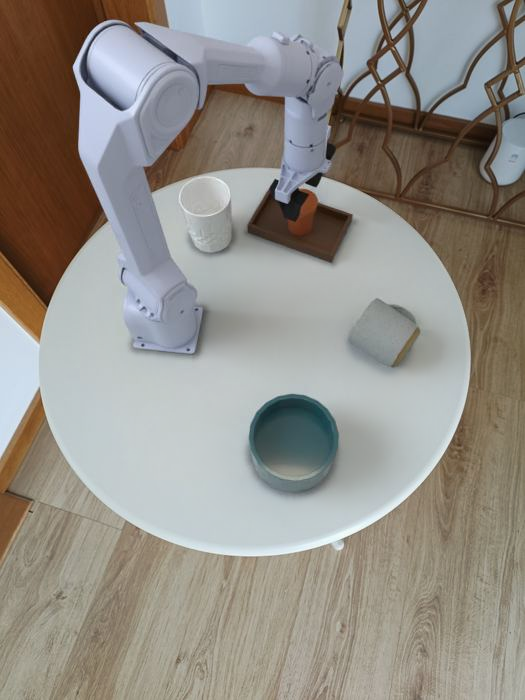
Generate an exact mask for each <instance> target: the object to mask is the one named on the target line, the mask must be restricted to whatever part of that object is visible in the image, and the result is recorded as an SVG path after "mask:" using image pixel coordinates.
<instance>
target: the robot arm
mask: <svg viewBox="0 0 525 700" xmlns="http://www.w3.org/2000/svg"><path fill="white" fill-rule="evenodd" d="M134 25H135V26H136V27H137V28H138V30H139V32H140V34H138V32H137V31H136V30H135V29H134V28H133V27H132V26H131V25H130V24H128V23H127V22H124V21H122V20H118V19H109V20H106V21H103V22H101V23H99V24H97V25H96V26H95V27H94V28H93V29H92V30H91V31H90V32H89V34H88V35H87V37H86V38H85V40H84V42H83V44H82V46H81V49H80V51H79V53H78V54H77V57H76V59H75V60H74V63H73V65H72V70H73V74H74V76H75V80H76V83H77V87H78V89H79V94H80V96H79V97H80V98H79V122H78V145H77V146H78V150H77V151H78V154H79V158H80V160H81V162H82V165H83V167H84V169H85V172H86V173H87V176H88V178H89V181H90V183H91V185H92V188H93V189H94V191H95V194H96V196H97V198H98V200H99V203H100V206H101V208H102V209H103V212H104V215H105V216H106V219H107V222H108V223H109V226H110V229H111V230H112V232H113V235H114V237H115V240H116V241H117V243H118V246H119V248H120V251H121V252H120V253H119V254H118V255H117V256H116V259H117V261H118V264H119V267H118V275H117V276H118V280H119V281H120V283H121V284H123V285H124V286H125V287H127V288H128V289H127V290H126V292H125V295H124V298H123V299H124V300H123V305H122V316H123V321H124V324H125V327H126V328H127V330H128V332H129V333H130V336H131V337H132V339H133V345H132V346H133V348H134V349H136V350H137V349H138V350H147V351H158V352H167V353H176V354H188V355H193V354H195V353H196V350H197V345H198V339H199V335H200V329H201V324H202V319H203V314H204V309H203V307H201V306H195V304H196V301H197V297H198V290H197V288H196V287H195V286H194V285H192V284H190V283H189V282H188V279H187V277H186V275H185V274H184V272H183V271H182V270H181V268H180V267H179V266H178V264H176V261H174V259H173V258H172V256H171V253H170V249H169V246H168V243H167V240H166V239H167V238H166V236H165V233H164V230H163V227H162V223H161V220H160V217H159V213H158V210H157V206H156V204H155V201H154V197H153V194H152V191H151V187H150V185H149V182H148V178H147V175H146V172H145V168H144V167H152V166H153V165H154V164H155V163H156V161H157V160H158V158H160V156H161V155H162V154H163V153H164V152H165V151H166V150H167V148H168V147H169V146H170V145H171V144H172V142H174V140H175V139H176V138H177V137H178V135H180V133H182V131H183V130H184V129H185V127H186V126H187V125H188V124H189V122H190V121H191V119H192V118H193V116H194V114H195V112H196V110H198V111H199V110H201V109H202V108H203V107H204V104H205V100H206V97H207V91H208V86H209V85H211V86H212V85H243V84H244V86H245V88H246V89H247V90H248V91H249V92H250V93H251V94H253V95H255V96H260V97H277V98H278V97H279V98H284V127H283V128H284V131H283V132H284V136H283V153H282V158H281V163H280V170H279V171H280V172H279V178H278V179H277V178H274V180H273V181H272V183H271V184H270V185H269V187H270V195H271V196H272V197H273V198H274V199H275V200H276V201H277V202H278V204H279V205H280V208H281V210H282V213H283V215H284V218H286V219H288V220H291V221H294V222H296V221H297V219H298V217H299V215H300V211H301V207H302V205H303V204H304V202H305V201H306V199H307V198H308V196H309V194H308V193H305V192H302V191H300V190H299V189H300V187H301V186H302V185H304V184H305V185H307V186H311V187H312V188H318V186H319V184H320V183H321V180H322V177H323V174H327V173H328V172H329V171H330V169H331V167H332V161H331V160H332V158H333V157H334V155H335V153H336V149H337V148H336V146H335V145H334V144H332V143H331V142H328V140H329V139H330V137H331V132H332V131H331V130H332V126H331V125H328V123H329V114H330V111H331V110H332V109H333V106H334V104H335V99H336V98H335V97H336V94H337V92H338V90H339V88H340V85H341V84H342V81H343V78H344V75H345V70H343V69H342V66H341V65H340V60H339V58H338V56H336V55H334V54H332V53H331V52H330V51H328V50H326V49H325V48H323V47H321V46H320V45H318V44H316V43H315V42H313V41H312V40H310V39H309V38H307V37H304V36H302V35H301V34H300V33H296V34H294V35H292V36H291V37H289V36H288V35H286V34H285V33H283V32H281V31H277V30H273V32H272V34H271V36H267V35H257V36H255V37H254V38H253V39H251V40H250V41H248V43H247V44H246V45H243V44H239V43H235V42H231V41H226V40H221V39H217V38H213V37H209V36H204V35H199V34H196V33H191V32H186V31H183V30H178V29H174V28H170V27H166V26H163V25H158V24H155V23H151V22H147V21H138V22H134Z"/></svg>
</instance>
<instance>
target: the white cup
mask: <svg viewBox="0 0 525 700" xmlns="http://www.w3.org/2000/svg"><path fill="white" fill-rule="evenodd" d="M231 193H232V191H231V189H230V187H229V186H228V184H227V183H226V182H225V181H224V180H223V179H220V178H218V177H215V176H210V175H205V176H199V177H195V178H192V179H191V180H188V182H186V183H184V185H182V187H181V189H180V191H179V194H178V195H179V196H178V202H179V206H180V208H181V211H182V212H181V213H182V215H183V218H184V221H185V224H186V227H187V231H188V233H189V235H190V238H191V241H192V243H193V245H194V247H195V248H197V249H198V250H200V251H201V252H204V253H209V254H213V253H217V252H221V251H222V250H224V249H226V248H227V247H228V246H229V244H230V243H231V241H232V237H233V235H232V234H233V233H232V232H233V231H232V227H233V213H232V211H233V210H232V194H231Z"/></svg>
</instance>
